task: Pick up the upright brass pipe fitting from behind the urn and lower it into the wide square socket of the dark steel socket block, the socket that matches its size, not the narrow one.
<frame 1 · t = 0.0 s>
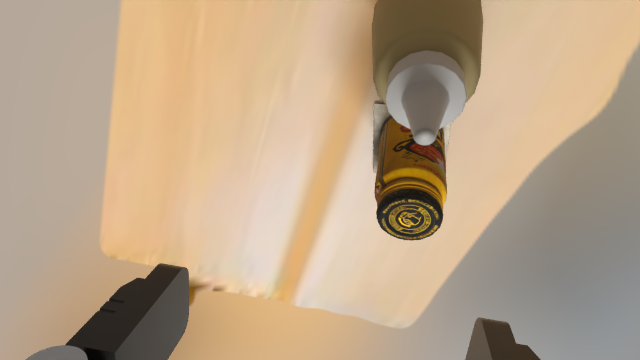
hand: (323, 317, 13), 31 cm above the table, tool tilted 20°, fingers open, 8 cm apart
squeeze bottle: (426, 3, 38), on the table
condiment: (410, 138, 47), on the table
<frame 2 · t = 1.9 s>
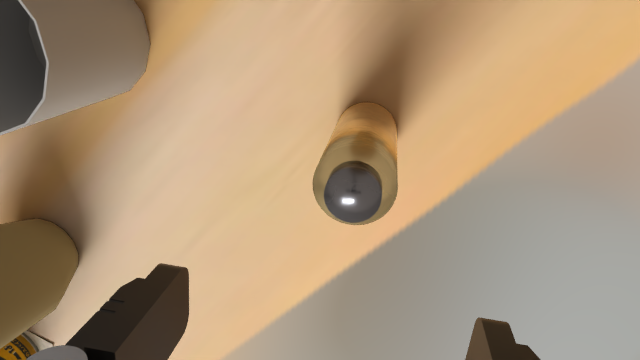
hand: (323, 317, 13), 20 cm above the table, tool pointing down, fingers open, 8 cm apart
squeeze bottle: (48, 248, 39), on the table
brass fitting: (366, 131, 31), on the table
condiment: (10, 354, 44), on the table
cup: (93, 36, 32), on the table
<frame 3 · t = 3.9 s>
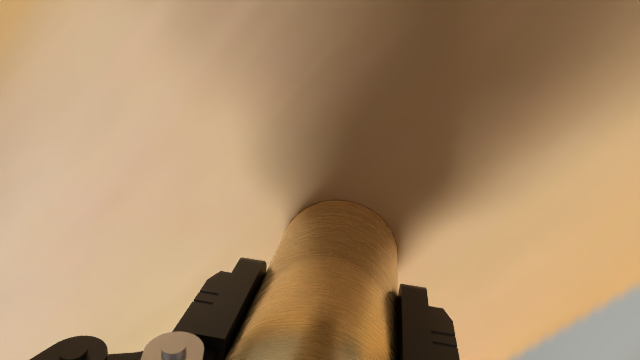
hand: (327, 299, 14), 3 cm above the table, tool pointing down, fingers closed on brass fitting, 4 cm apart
brass fitting: (339, 253, 16), on the table, touching gripper
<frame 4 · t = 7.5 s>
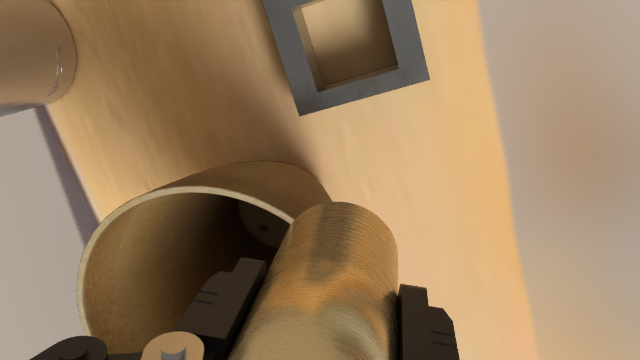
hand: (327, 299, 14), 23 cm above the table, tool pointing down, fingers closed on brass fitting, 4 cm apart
brass fitting: (339, 254, 16), point 20 cm above the table, touching gripper
plant pot: (286, 202, 39), on the table
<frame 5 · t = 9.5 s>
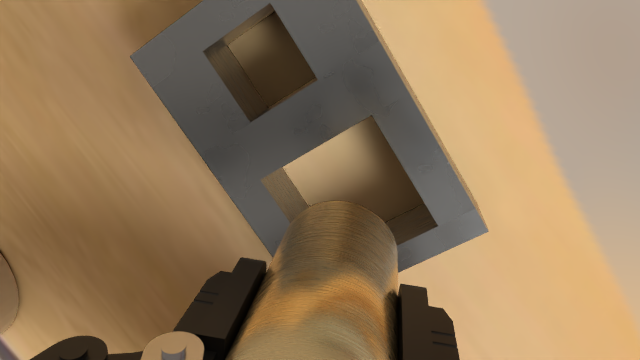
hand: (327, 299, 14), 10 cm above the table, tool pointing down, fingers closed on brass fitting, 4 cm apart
brass fitting: (339, 253, 16), point 7 cm above the table, touching gripper
steel socket block: (321, 127, 22), on the table
when the fingers open (4 cm above the table, at t = 11.2 s): brass fitting drops 1 cm, resting in steel socket block.
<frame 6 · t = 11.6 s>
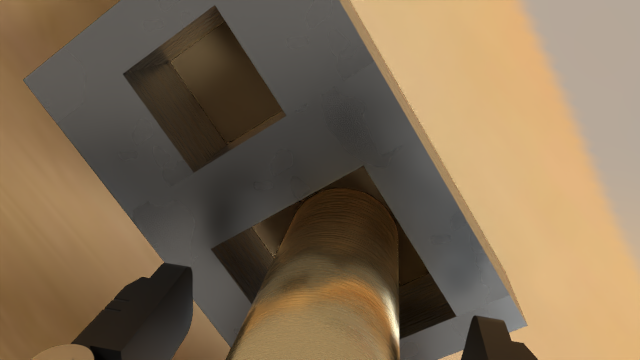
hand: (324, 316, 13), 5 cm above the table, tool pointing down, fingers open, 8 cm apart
brass fitting: (343, 238, 17), resting in steel socket block
steel socket block: (297, 171, 17), on the table
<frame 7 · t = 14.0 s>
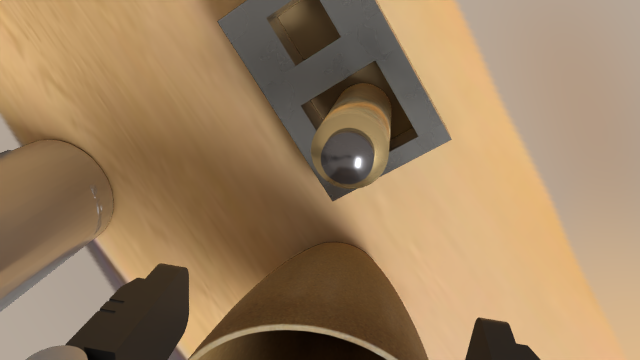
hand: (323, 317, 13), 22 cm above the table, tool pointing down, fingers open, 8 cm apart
brass fitting: (363, 111, 33), resting in steel socket block
plant pot: (338, 277, 39), on the table
steel socket block: (340, 74, 33), on the table
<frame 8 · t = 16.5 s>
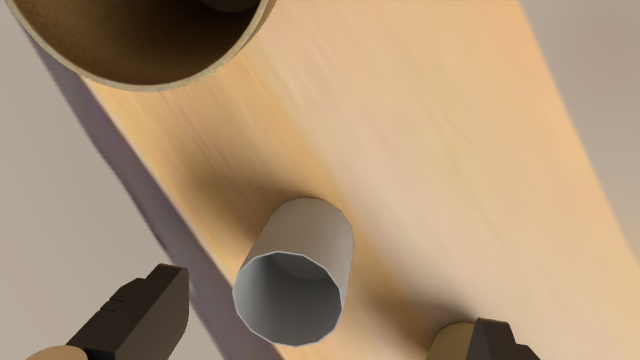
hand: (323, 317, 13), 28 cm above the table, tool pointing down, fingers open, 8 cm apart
squeeze bottle: (463, 344, 46), on the table
cup: (310, 237, 44), on the table
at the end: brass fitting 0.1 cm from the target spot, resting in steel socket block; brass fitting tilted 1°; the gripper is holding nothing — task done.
